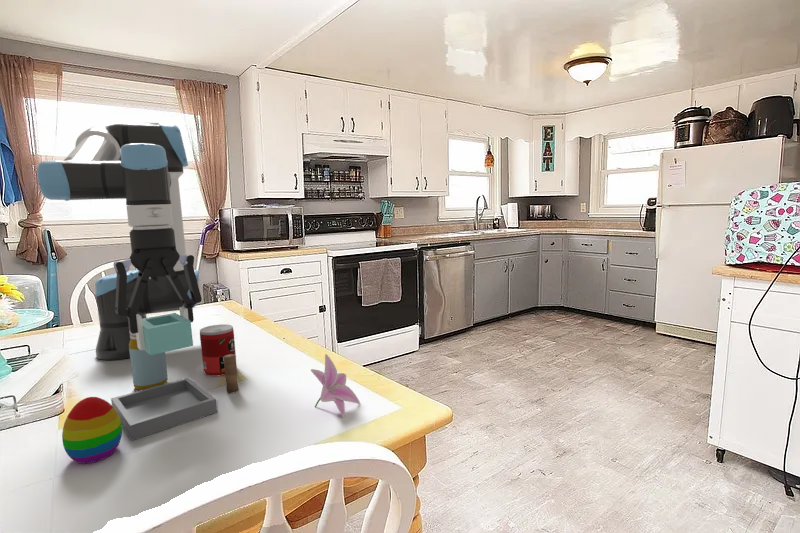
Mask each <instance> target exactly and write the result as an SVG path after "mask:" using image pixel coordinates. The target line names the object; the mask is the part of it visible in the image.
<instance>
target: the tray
mask: <svg viewBox="0 0 800 533" xmlns="http://www.w3.org/2000/svg"><path fill="white" fill-rule="evenodd" d="M110 400H111V401H110V402H111V405H112V406H113V407H114V409H115V410H116V411H117V413H118V415H119V417H120V420H121V424H122V429H124V431H125V432H126V433H127V435H128V436H129V438H130V440H131V441H134V440H138V439H141V438H144V437H148V436H150V435H153V434H156V433H158V432H162V431H165V430H168V429H171V428H174V427H177V426H180V425H183V424H186V423H189V422H192V421H195V420H197V419H200V417H201V418H204V417H206V415H207V416H210V415H213V414H216V413H218V406H217V405H218V404H217V398H216V397H214V396H213V395H212V394H211V393H209V392H208V391H207V390H205V388H203V387H202V386H200V385H199V384H198V383H196V381H194V380H193V379H191V378H190V377H186V378H182V379H177V380H175V381H170V382H168V383H167V382H166V383H165V384H163V385H159V386H155V387H152V388H148V389H144V390H137V391H133V392H130V393H126V394H121V395H118V396H114V397H112V398H110ZM215 412H216V413H215ZM212 413H213V414H212ZM209 414H210V415H209ZM203 416H204V417H203ZM182 423H183V424H182ZM179 424H180V425H179ZM170 427H171V428H170Z"/></svg>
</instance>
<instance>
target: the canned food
mask: <svg viewBox="0 0 800 533" xmlns="http://www.w3.org/2000/svg"><path fill="white" fill-rule="evenodd" d="M234 332H235V330H234V326H233V325H231V324H227V323H226V324H224V323H223V324H221V323H219V324H213V325H208V326H205V327H202V328H200V329H199V340H200V350H201V359H202V365H203V366H202V368H203V373H204V374H205V375H207V376H209V375H210V376H209V377H218V375H220V376H224V375H225V367H224V356H226V355H229V354H235V355H236V344H235V343H236V342H235V333H234ZM236 356H237V355H236Z"/></svg>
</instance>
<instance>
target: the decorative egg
mask: <svg viewBox="0 0 800 533" xmlns="http://www.w3.org/2000/svg"><path fill="white" fill-rule="evenodd" d="M61 433H62V435H61V436H62V437H61V440H62V445H63V449H64V452H66V454H67V456H68V457H69V458H70V459H72V460H73V461H74V462H75V463H78V464H92V463H95V462H98V461H101V460H102V461H103V459H106V458H108V457H110V456H111V455H113V453H114V452H116V450H117V448H118V447H119V445H120V443H121V439H122V435H123V434H122V433H123V426H122V424H121V420H120V417H119V415H118V413H117V411H116V410H115V409H114V407H113V406H112V403H110V402H108V401H107V400H105V399H103V398H100V397H97V396H89V397H88V396H87V397H85V398H83V399H81V400H79V401H78V402H77V403H76V404H75V405H74V406H73V407H72V408H71V410H70V411H69V413H68V415H67V416H66V418H65V421H64V423H63V428H62V432H61Z"/></svg>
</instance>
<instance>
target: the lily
mask: <svg viewBox="0 0 800 533" xmlns="http://www.w3.org/2000/svg"><path fill="white" fill-rule="evenodd" d="M337 370H338V369H337V367H336V365H335V364H334V362H333V360H332V359H331V357H330V356H329V355H328V354H327V353H326V354H324V371H321V370H320V369H314V368H311V369H310V371H311V373H312V374H313V375H314V377H316V378H317V380H318V381H319V383H321V385H322V388H321V393H320V397H319V398H318V400H317V402H316V403H315V405H314V408H317V406H318V405H319V402H322V403H328V402H334V404H335V405H336V406H335V407H336V408H337V409H338V411H339V413H340V415H341V416H342V417H343V418H344V417H345V414H346V409H345V408H346V407H345V402H348V403H353V404H360V403H361V402H360V400H359V398H358V397H357V395H356V393H355V392H354V390H352V389H351V388H350V387H349V386H347V384H346V383H347V374H346V373H344V372H338V371H337Z"/></svg>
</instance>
